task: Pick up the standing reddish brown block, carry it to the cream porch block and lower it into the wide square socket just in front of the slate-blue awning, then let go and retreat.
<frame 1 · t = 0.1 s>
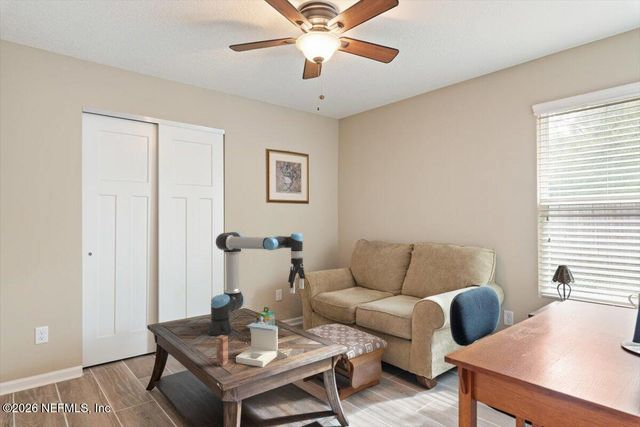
hand: (297, 290, 230), 28 cm above the table, fingers open, 13 cm apart
porch socket: (257, 358, 192), on the table
reddish brown block: (222, 363, 186), on the table
demon figurine: (260, 340, 221), on the table
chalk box: (265, 330, 240), on the table
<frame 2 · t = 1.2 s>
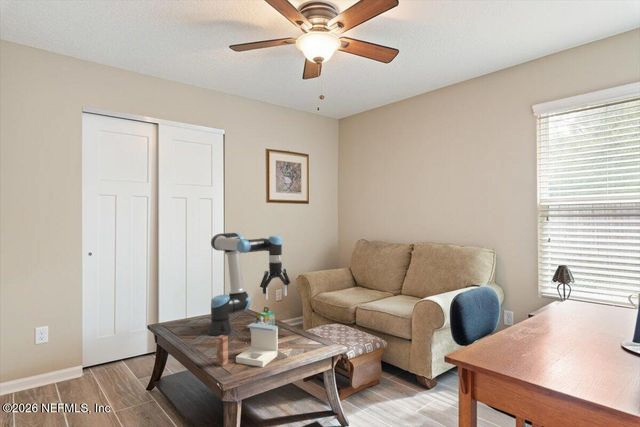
hand: (275, 297, 215), 27 cm above the table, fingers open, 13 cm apart
nothing on the table moved.
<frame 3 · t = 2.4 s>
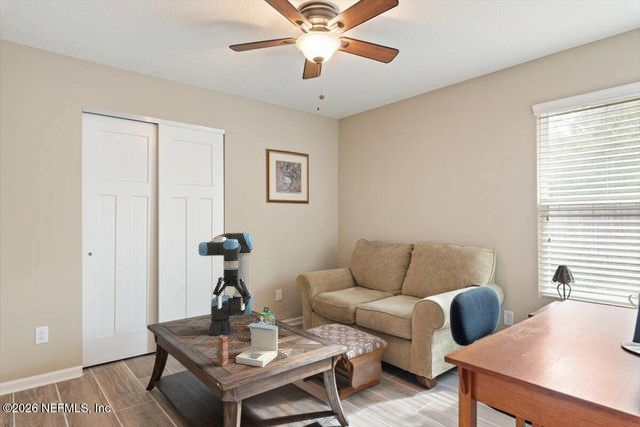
hand: (231, 309, 190), 27 cm above the table, fingers open, 13 cm apart
nothing on the table moved.
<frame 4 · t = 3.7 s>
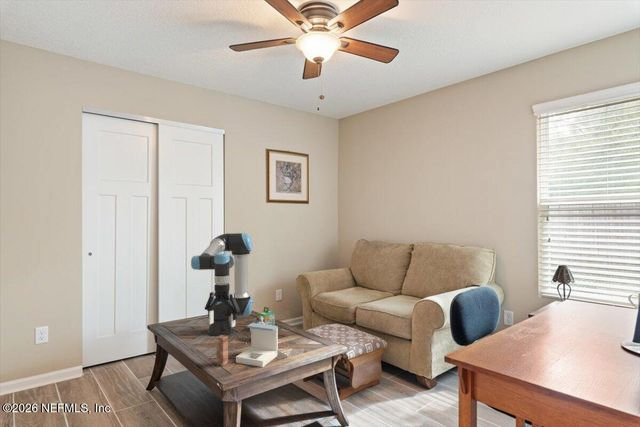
hand: (222, 325, 185), 20 cm above the table, fingers open, 13 cm apart
nothing on the table moved.
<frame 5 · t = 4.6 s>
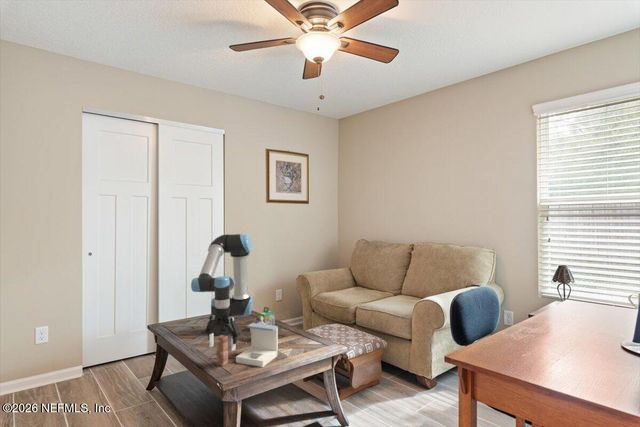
hand: (222, 348, 185), 8 cm above the table, fingers open, 13 cm apart
nothing on the table moved.
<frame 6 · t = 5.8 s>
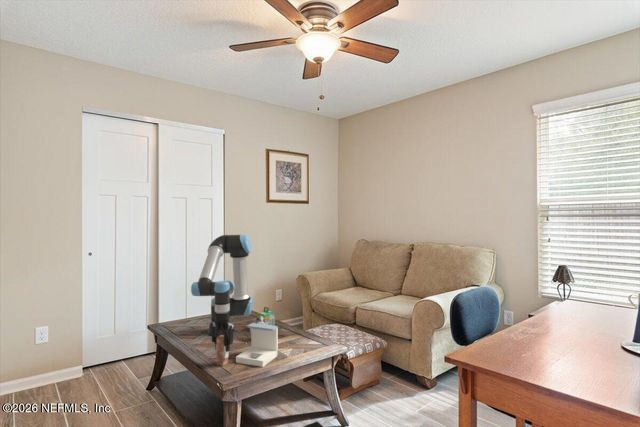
hand: (222, 356, 186), 4 cm above the table, fingers closed on reddish brown block, 4 cm apart
reddish brown block: (222, 363, 186), on the table, touching gripper
everything else where it was.
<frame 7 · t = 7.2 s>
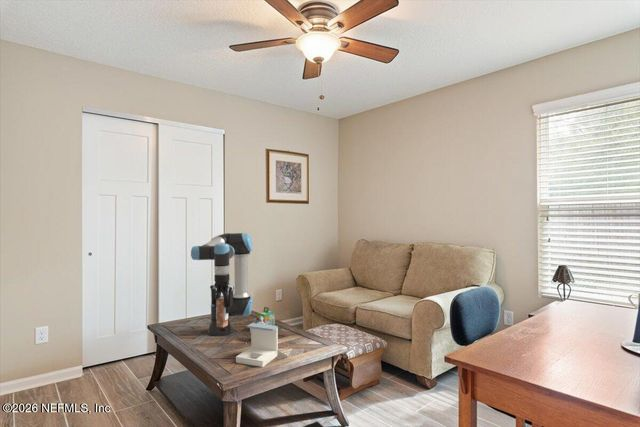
hand: (222, 318, 186), 23 cm above the table, fingers closed on reddish brown block, 4 cm apart
reddish brown block: (222, 326, 186), point 19 cm above the table, touching gripper
everything else where it was.
when the fingers open (5 cm above the table, at t = 11.2 s): reddish brown block stays where it is, resting in porch socket.
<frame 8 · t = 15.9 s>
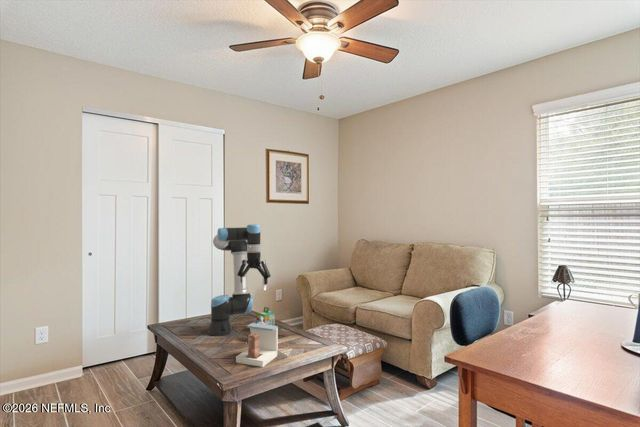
hand: (253, 289, 203), 35 cm above the table, fingers open, 13 cm apart
reddish brown block: (253, 361, 189), resting in porch socket
everything else where it was.
at the end: reddish brown block 0.1 cm from the target spot on the porch socket, point 0.0 cm above the porch socket's base; reddish brown block tilted 0°; the gripper is holding nothing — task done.
